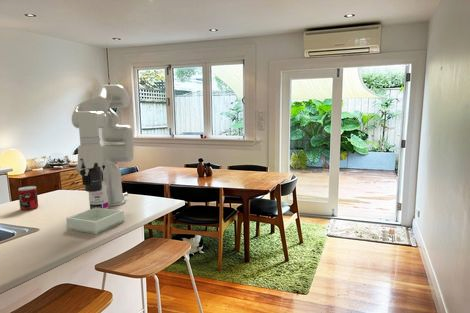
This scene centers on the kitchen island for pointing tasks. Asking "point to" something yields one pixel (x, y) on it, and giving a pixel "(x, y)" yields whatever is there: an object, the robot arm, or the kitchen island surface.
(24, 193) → the canned food
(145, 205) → the kitchen island surface
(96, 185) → the supplement bottle
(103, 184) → the supplement can
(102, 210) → the bin
